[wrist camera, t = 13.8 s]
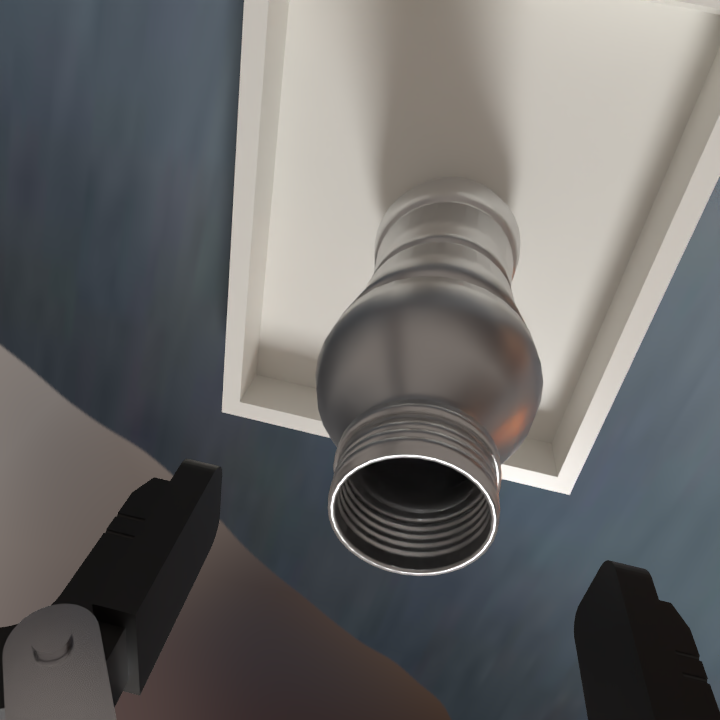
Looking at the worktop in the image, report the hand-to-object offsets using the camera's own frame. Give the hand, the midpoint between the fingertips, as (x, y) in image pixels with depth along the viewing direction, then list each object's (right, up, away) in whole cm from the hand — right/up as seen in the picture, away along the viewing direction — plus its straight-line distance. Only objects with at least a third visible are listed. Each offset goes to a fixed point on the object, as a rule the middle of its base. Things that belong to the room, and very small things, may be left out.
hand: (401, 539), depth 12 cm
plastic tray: (+4, +11, +18) cm, 22 cm away
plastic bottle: (+4, +10, +18) cm, 21 cm away
